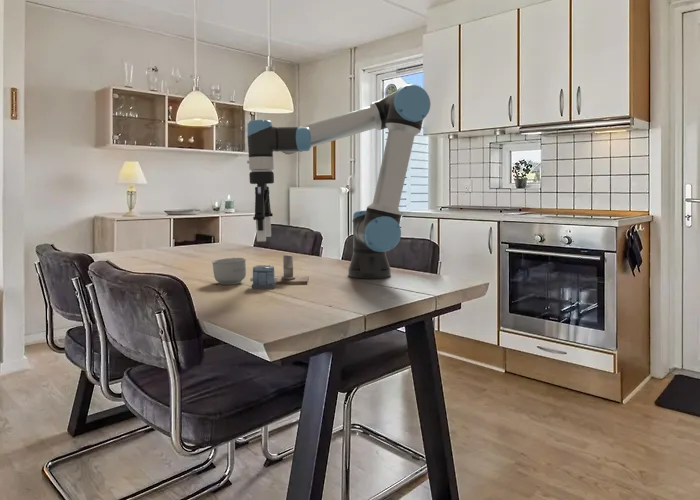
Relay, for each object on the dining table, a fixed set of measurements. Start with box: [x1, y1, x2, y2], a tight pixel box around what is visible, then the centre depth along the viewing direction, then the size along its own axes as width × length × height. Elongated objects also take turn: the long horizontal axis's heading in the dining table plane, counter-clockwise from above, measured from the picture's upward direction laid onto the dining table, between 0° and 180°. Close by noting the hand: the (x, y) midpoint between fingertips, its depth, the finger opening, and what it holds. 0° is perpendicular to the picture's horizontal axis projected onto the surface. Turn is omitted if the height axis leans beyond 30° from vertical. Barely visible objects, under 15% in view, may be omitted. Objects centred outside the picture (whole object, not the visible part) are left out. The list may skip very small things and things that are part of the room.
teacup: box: [211, 257, 247, 286], centre depth 179 cm, size 14×11×8 cm
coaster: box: [251, 281, 278, 290], centre depth 171 cm, size 7×7×1 cm
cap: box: [249, 264, 277, 285], centre depth 171 cm, size 8×7×6 cm
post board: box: [275, 254, 309, 286], centre depth 179 cm, size 13×10×9 cm
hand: (264, 239), depth 169 cm, fingers open, 13 cm apart
